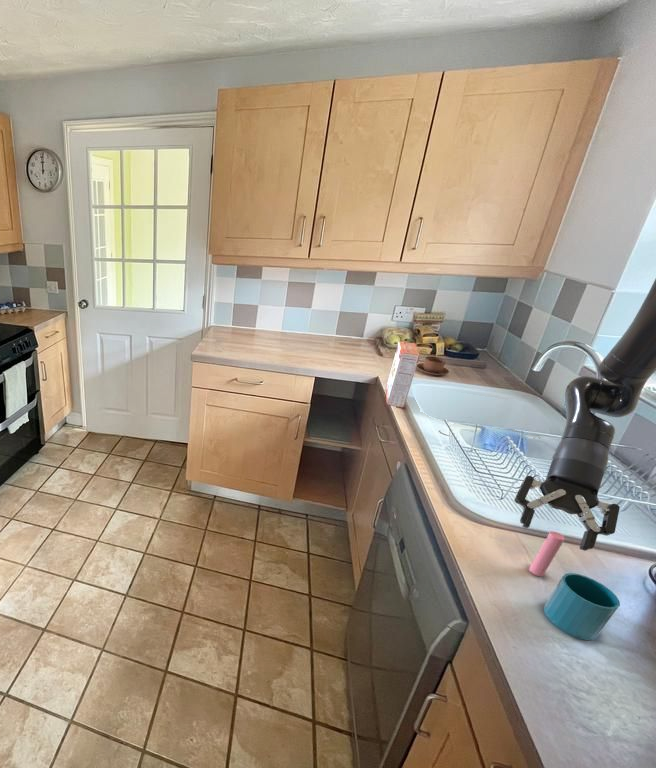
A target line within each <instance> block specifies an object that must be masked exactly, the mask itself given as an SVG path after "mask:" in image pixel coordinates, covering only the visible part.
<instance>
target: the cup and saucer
mask: <svg viewBox="0 0 656 768" xmlns="http://www.w3.org/2000/svg"><path fill="white" fill-rule="evenodd" d="M445 364H446V360H445V358H442V357H438V356H426V357H425V358H424V362H422V363H421V362H420V363H417V366H416V369H418V370H419V371H420V372H421V373H425V374H427V375H431V376H447V375H448V374H449V373H450V370H449V369H447V368H446V367H445Z"/></svg>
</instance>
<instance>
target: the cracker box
mask: <svg viewBox="0 0 656 768" xmlns="http://www.w3.org/2000/svg"><path fill="white" fill-rule="evenodd" d="M395 350H396V351H395V354H394V357H393V361H392V365H391V368H390V371H389V376H388V380H387V383H386V386H385V399H386V406H390V407H395V408H396V407H397V408H401V409H405V405H406V402H407V399H408V396H409V392H410V389H411V385H412V382H413V380H414V376H415V373H416V369H417V364H419V359H420V352H419V349H418V347H417V343H415V342H407V341H398V342H397V346H396V349H395Z"/></svg>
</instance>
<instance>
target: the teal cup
mask: <svg viewBox="0 0 656 768" xmlns="http://www.w3.org/2000/svg"><path fill="white" fill-rule="evenodd" d="M560 578H561V579H560V580H559V582H558V583H557V585H556V586H555V588H554V590H553V591H552V592H551V594H550V596H549V597H548V599H547V601H546V602H545V604H544V607H543V612H544V614H545V616H546V618H547V619H548V620H549V621H550V623H552V624H553V625H554V626H556V628H558V629H560V630H561V631H563V632H565V634H568V635H569V636H572V637H574V638H577V639H580V640H584V641H593V640H596V639H597V638H598V636H599V635H600V634H601V632H602V631H603V630H604V628H605V627H606V626H607V624H608V623H609V622H610V620H611V619H612V617H613V616H614V615H615V613H616V612H617V611H618V609H619V608H620V607H621V601H620V599H619V598H618V596H617V595H616V594H615V593H614V592H613V591H612V590H611V589H610V588H608V586H606V585H604V584H602V583H601V582H598V581H597V580H595V579H594V578H591V577H588V576H587V575H582V574H579V573H572V572H569V573H565V574H563V576H562V577H560Z"/></svg>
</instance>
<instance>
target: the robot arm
mask: <svg viewBox="0 0 656 768" xmlns="http://www.w3.org/2000/svg"><path fill="white" fill-rule="evenodd" d="M597 371H598V374H599V375H600V376H601V378H597V377H594V376H587V375H584V376H583V375H581V376H578V377H576V378H573V380H571V381H570V382H569V383H568V384H567V386H566V389H565V392H564V393H565V394H564V400H565V402H564V403H565V409H566V410H565V411H566V423H565V427H564V429H563V433H562V435H561V439H560V442H559V444H557V446H556V449H555V451H554V453H553V455H552V460H551V463H550V466H549V468H548V472H547V475H546V477H545V480H544V481H540V480H537V479H535V478H534V476H532V475H527V476H526V477H525V478H523V480H522V482H521V484H520V487H519V489H518V492H517V493H516V495H515V498H514V503H516V504H518V505H520V506H521V507H522V508H523V510H522V512H521V515H520V519H519V520H520V521H519V522H520V523H519V524H522V528H524V529H528V528H530V526H531V524H532V520H533V518H534V516H535V515H534V514H535V512H536V509H537V508H539V507H542V506H545V505H547V504H548V505H549V506H550V507H551V508H552V509H555V510H559V511H560V510H561V511H563V512H564V513H567V514H569V515H575V516H576V517H577V518H578V521H580V522H581V523H582V525H583V526H584V528H585V530H586V531H584V532H583V535H582V538H581V541H580V545H579V547H578V549H579V550H581V551H583V552H586V551H588V550H591V549H593V548H594V547H595V545H596V543H597V538H598V536H599V535H603V536H610V535H613V534H615V533H616V528H617V523H618V519H619V514H620V506H619V504H617V503H607V502H604V501H601V500H599V497H598V495H599V491H600V488H601V484H602V481H603V478H604V475H605V472H606V468H607V465H608V462H609V454H610V450H611V446H612V443H613V440H614V437H615V433H616V427H615V426H614V425H613V424H612V423H611V422H609V421H607V420H605V419H603V418H602V417H599V416H597V415H596V414H599V415H603V416H606V417H611V418H622V417H626V416H628V415H630V414H632V413H633V412H634V411H635V410H636V408H637V406H638V403H639V400H640V396H641V394H642V392H643V389H644V386H645V385H646V383H647V382H648V380H649V379H650V377H651V376H653V374H655V372H656V278H654V281H653V282H652V285H651V286H650V289H649V291H648V292H647V295H646V297H645V299H644V300H643V302H642V304H641V306H640V308H639V310H638V312H637V313H636V315H635V317H634V318H633V320H632V322H631V323H630V325H629V326H628V328H627V329H626V331H625V332H624V333H623V334H622V336H621V338H620V339H618V341H617V342H616V344H614V346H613V347H612V348H611V350H610V351H609V352H608V353H607V355H605V357H604V358H603V360H602V361H601V362H600V363H599V365H598V368H597ZM602 378H603V379H602ZM595 413H596V414H595ZM536 488H539V490H540V492H541V494H542V495H543V496H541V497H539V498H536V499H533V500H532V501H529V500H528V499H527V496H528V494H529V492H530V490H534V489H536ZM595 507H597V508H598V509H599V512H600V513H601V514H602V515H603V518H602V523H601V526H600V525H599V524H598V523H597V520H596V518H595V515H594V514H593V512H592V510H591V509H594V508H595Z"/></svg>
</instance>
